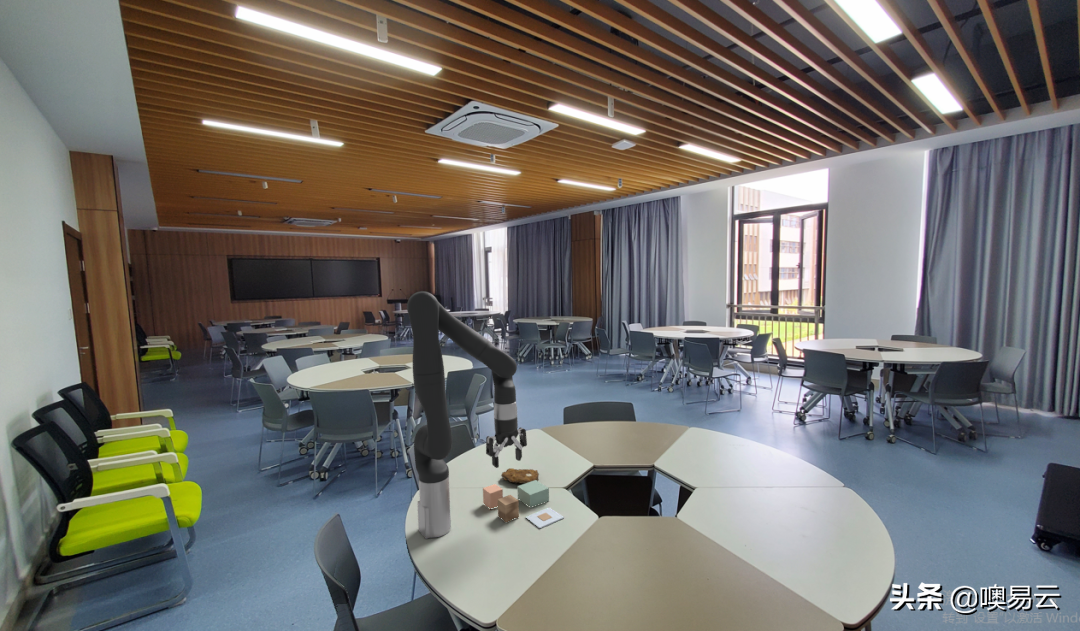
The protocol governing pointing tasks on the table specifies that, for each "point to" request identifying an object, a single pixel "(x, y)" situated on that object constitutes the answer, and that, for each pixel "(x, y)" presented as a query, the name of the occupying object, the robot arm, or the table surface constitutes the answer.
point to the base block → (533, 493)
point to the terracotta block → (492, 495)
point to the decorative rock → (520, 475)
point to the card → (544, 517)
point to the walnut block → (508, 508)
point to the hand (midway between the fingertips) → (507, 463)
